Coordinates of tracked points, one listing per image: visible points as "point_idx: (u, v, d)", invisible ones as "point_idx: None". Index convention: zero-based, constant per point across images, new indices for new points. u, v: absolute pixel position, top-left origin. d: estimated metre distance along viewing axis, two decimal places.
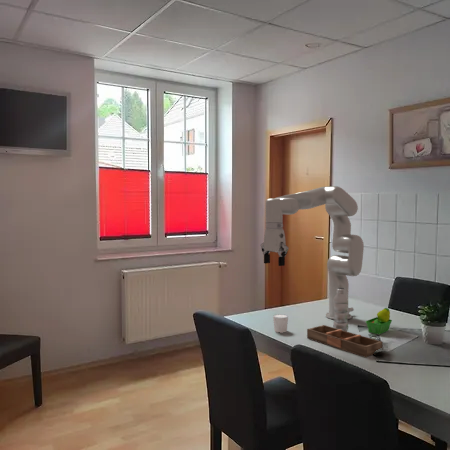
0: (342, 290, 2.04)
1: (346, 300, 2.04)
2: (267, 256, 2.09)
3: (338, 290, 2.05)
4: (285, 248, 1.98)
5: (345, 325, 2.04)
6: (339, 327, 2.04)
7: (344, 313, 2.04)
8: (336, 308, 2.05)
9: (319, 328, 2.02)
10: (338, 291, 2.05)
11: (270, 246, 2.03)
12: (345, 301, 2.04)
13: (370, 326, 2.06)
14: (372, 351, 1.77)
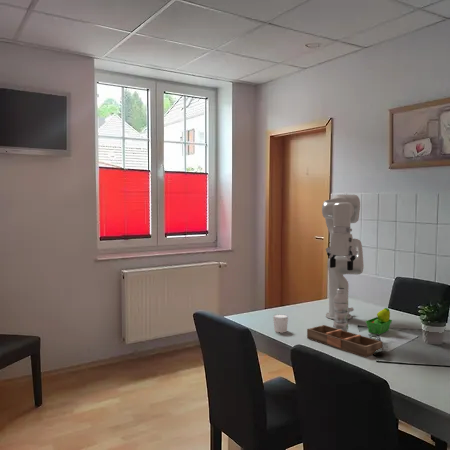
0: (342, 290, 2.04)
1: (346, 300, 2.04)
2: (333, 260, 2.09)
3: (338, 290, 2.05)
4: (355, 252, 1.98)
5: (345, 325, 2.04)
6: (339, 327, 2.04)
7: (344, 313, 2.04)
8: (336, 308, 2.05)
9: (319, 328, 2.02)
10: (338, 291, 2.05)
11: (338, 250, 2.04)
12: (345, 301, 2.04)
13: (370, 326, 2.06)
14: (372, 351, 1.77)
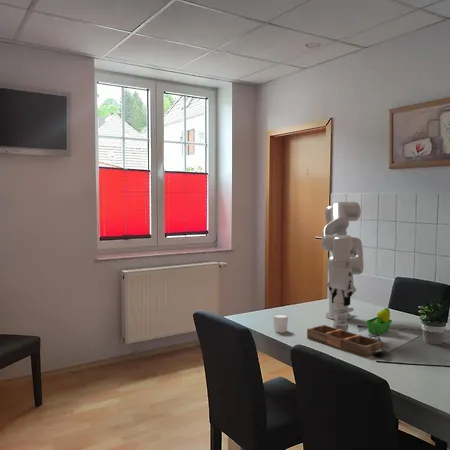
0: (342, 290, 2.04)
1: None
2: (335, 295, 2.09)
3: (338, 290, 2.05)
4: (353, 289, 2.00)
5: (345, 325, 2.04)
6: (339, 327, 2.04)
7: (344, 313, 2.04)
8: (336, 308, 2.05)
9: (319, 328, 2.02)
10: (338, 291, 2.05)
11: (337, 284, 2.05)
12: None
13: (370, 326, 2.06)
14: (372, 351, 1.77)
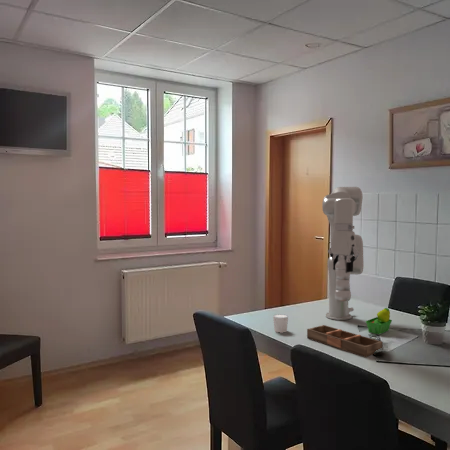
0: (344, 255, 1.91)
1: None
2: None
3: (340, 255, 1.92)
4: (356, 254, 1.86)
5: (347, 293, 1.90)
6: (341, 295, 1.90)
7: (346, 280, 1.91)
8: (338, 275, 1.91)
9: (319, 328, 2.02)
10: (340, 256, 1.91)
11: (339, 249, 1.91)
12: None
13: (370, 326, 2.06)
14: (372, 351, 1.77)
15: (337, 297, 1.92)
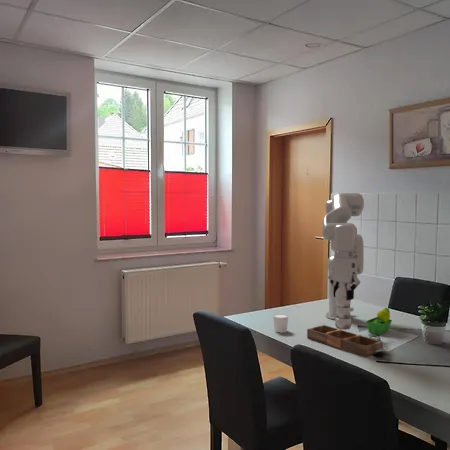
0: (345, 283, 1.87)
1: None
2: None
3: (340, 283, 1.87)
4: (357, 282, 1.82)
5: (348, 321, 1.86)
6: (341, 323, 1.86)
7: (347, 308, 1.87)
8: (338, 302, 1.87)
9: (319, 328, 2.02)
10: (340, 284, 1.87)
11: (340, 276, 1.87)
12: None
13: (370, 326, 2.06)
14: (372, 351, 1.77)
15: (337, 325, 1.88)
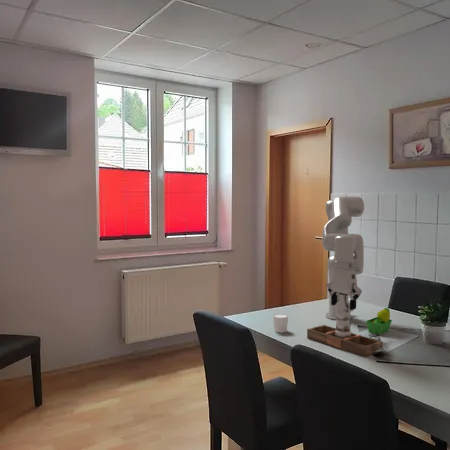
0: (344, 295, 1.87)
1: (349, 306, 1.87)
2: (335, 297, 1.92)
3: (340, 295, 1.88)
4: (358, 291, 1.82)
5: (348, 334, 1.87)
6: (341, 336, 1.87)
7: (347, 321, 1.87)
8: (338, 315, 1.88)
9: (319, 328, 2.02)
10: (340, 297, 1.88)
11: (339, 287, 1.87)
12: (348, 307, 1.87)
13: (370, 326, 2.06)
14: (372, 351, 1.77)
15: None
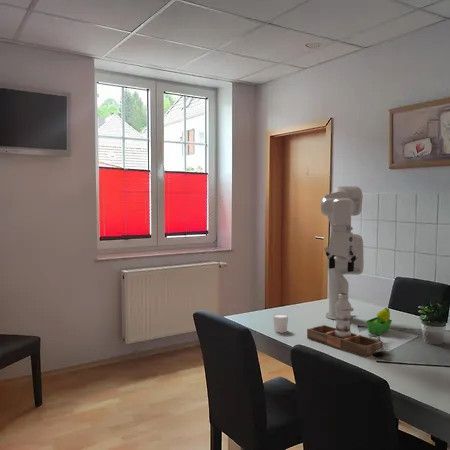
0: (344, 296, 1.87)
1: (349, 306, 1.87)
2: (332, 261, 1.95)
3: (340, 295, 1.88)
4: (356, 253, 1.84)
5: (348, 334, 1.87)
6: (341, 336, 1.87)
7: (347, 321, 1.87)
8: (338, 315, 1.88)
9: (319, 328, 2.02)
10: (340, 297, 1.88)
11: (337, 250, 1.90)
12: (348, 307, 1.87)
13: (370, 326, 2.06)
14: (372, 351, 1.77)
15: None
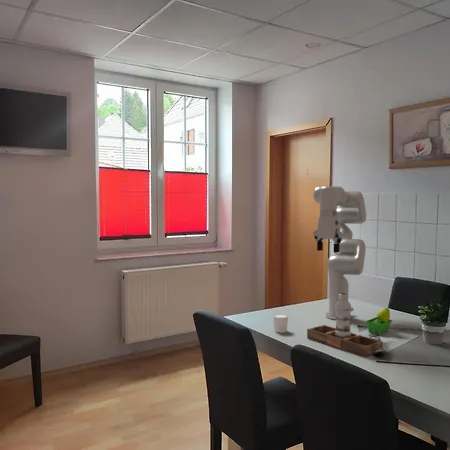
0: (344, 296, 1.87)
1: (349, 306, 1.87)
2: (320, 243, 2.12)
3: (340, 295, 1.88)
4: (341, 235, 2.02)
5: (348, 334, 1.87)
6: (341, 336, 1.87)
7: (347, 321, 1.87)
8: (338, 315, 1.88)
9: (319, 328, 2.02)
10: (340, 297, 1.88)
11: (324, 233, 2.07)
12: (348, 307, 1.87)
13: (370, 326, 2.06)
14: (372, 351, 1.77)
15: None
